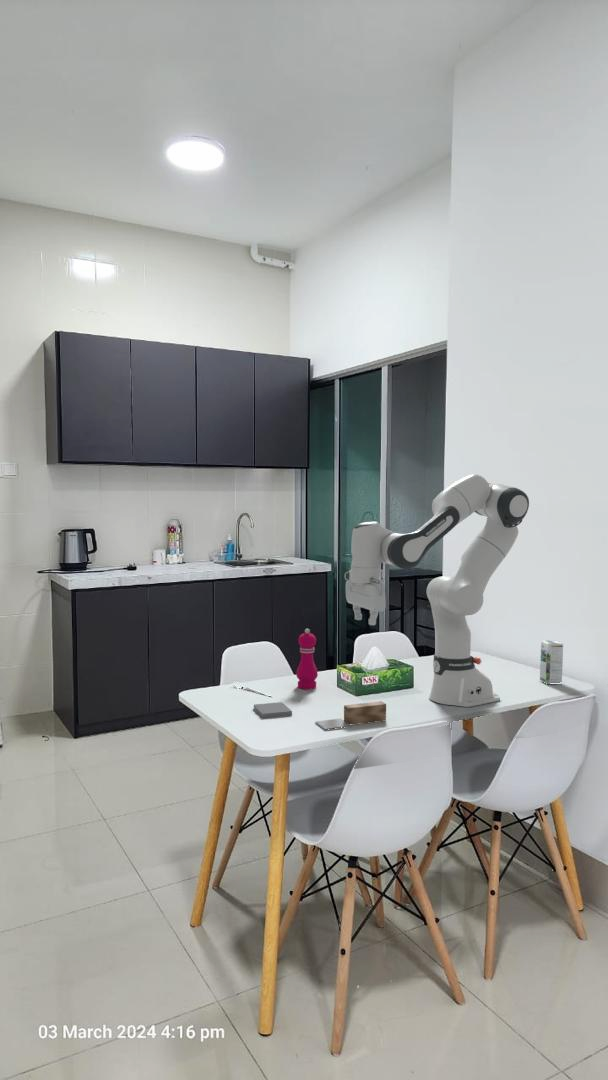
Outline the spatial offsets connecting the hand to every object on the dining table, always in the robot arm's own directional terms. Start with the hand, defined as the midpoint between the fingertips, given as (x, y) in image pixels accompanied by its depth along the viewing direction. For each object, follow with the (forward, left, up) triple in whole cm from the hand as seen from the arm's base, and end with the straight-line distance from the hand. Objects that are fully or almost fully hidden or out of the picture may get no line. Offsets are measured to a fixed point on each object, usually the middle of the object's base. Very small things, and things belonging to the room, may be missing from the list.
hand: (365, 622), depth 219 cm
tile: (+22, -9, -27) cm, 35 cm away
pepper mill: (+6, -32, -27) cm, 42 cm away
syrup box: (-76, -8, -27) cm, 81 cm away
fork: (+24, -33, -28) cm, 49 cm away
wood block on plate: (+8, +9, -27) cm, 30 cm away
